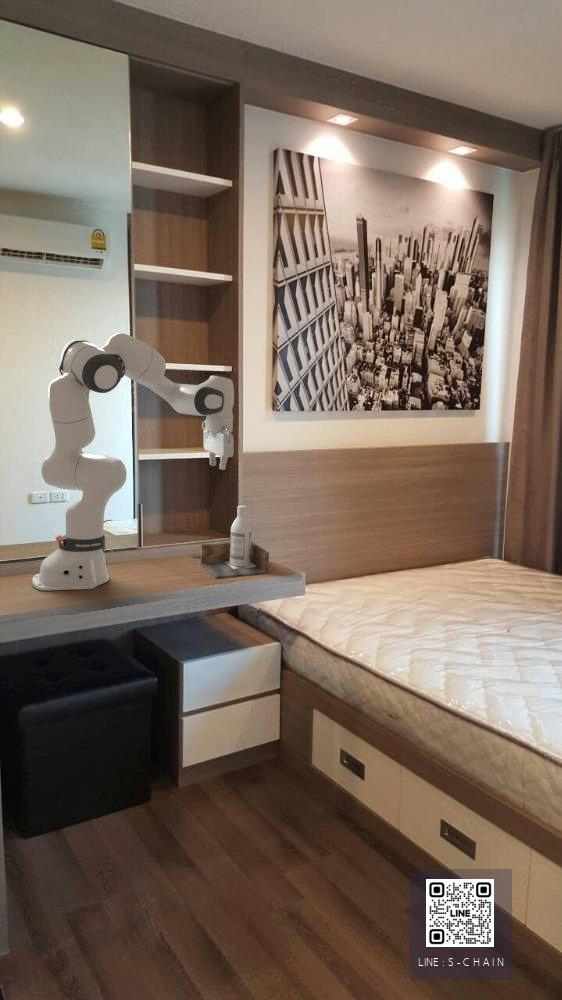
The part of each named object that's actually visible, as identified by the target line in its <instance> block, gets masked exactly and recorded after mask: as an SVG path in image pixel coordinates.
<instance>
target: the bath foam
mask: <svg viewBox="0 0 562 1000" xmlns="http://www.w3.org/2000/svg"><path fill="white" fill-rule="evenodd" d="M236 510H237V514H236V515H237V517H235V519H234V520H233V523H232V524H231V527H230V537H229V538H230V540H229V542H230V564H231V565H233V566H237V567H244V566H248V565H250V557H251V541H252V532H253V531H252V525H251V523H250V521H249V519H248V518H247V506H246V505H243V504H242V505H237V509H236Z"/></svg>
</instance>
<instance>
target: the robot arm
mask: <svg viewBox="0 0 562 1000" xmlns="http://www.w3.org/2000/svg"><path fill="white" fill-rule="evenodd" d="M166 366H167V365H166V360H165V358H164V357H163V355H162V354H161V353H160V352H159V351H157V349H154V348H153V347H152V346H150V345H149V344H147V343H145V342H144V341H142V340H140V339H139V338H136V337H134V336H131V335H129V334H126V333H123V332H118V333H115V334H113V335H112V336H110V337H109V339H108V340H107V342H106V343H105V345H103V346H102V347H99V346H98V345H95V344H93V343H92V342H90V341H88V340H85V339H73V340H71V341H69V342H68V343H66V345H65V346H64V348H63V350H62V352H61V356H60V365H59V368H58V370H59V373H60V375H61V376H59V377H56V378H55V379H53V380H52V381H51V382H50V383H49V385H48V405H49V412H50V417H51V421H52V425H53V426H52V427H53V432H54V437H55V444H54V449H53V450H52V452H51V453H50V454H48V455H47V456H46V457H45V459H44V460H43V462H42V464H41V476H42V478H43V481H44V482H45V483H46V485H48V486H50V487H55V488H57V489H61V490H72V491H82V495H81V496H82V497H81V500H79V501H77V502H75V503H73V504H70V506H69V507H68V508H67V509H66V511H65V535H61V534H57V535H56V536H55V540H56V542H58V548H57V549H56V550H55V551H54V552H52V553H50V554H49V555H48V556H46V557H45V558H44V559H42V562H41V565H40V568H39V573H37V574H35V575H34V576H33V577H32V578H31V579H32V580H31V583H32V586H33V588H35V589H37V590H39V591H69V590H70V591H71V590H93V589H95V588H97V587H98V586H100V585H102V584H105V583H107V582H108V581H109V580H110V575H109V574H108V570H107V565H106V558H105V557H106V556H105V552H106V536H105V534H104V523H105V522H104V521H105V510H106V508H107V505H108V502H110V499H111V498H112V496H113V495H115V493H117V492H118V491H119V490H121V489H122V487H123V486H124V485H125V483H126V481H127V468H126V466H125V464H124V462H123V460H121V459H119V458H116V457H112V456H108V455H103V454H102V455H101V454H88V453H84V452H83V450H82V449H85V448H86V447H88V446H89V445H90V444H91V443H93V441H94V439H95V436H96V429H95V423H94V418H93V414H92V410H91V408H92V407H91V405H90V401H89V400H90V392H91V391H92V392H95V393H100V394H107V393H109V392H111V391H113V390H114V389H115V388H116V387H117V386H118V385H119V383H120V382H121V381H122V378H123V377H124V376H126V378H128V379H130V380H132V381H134V382H136V383H137V384H139V385H141V386H143V387H145V388H146V389H147V390H149V391H150V392H152V393H153V394H154V395H156V396H158V398H160V399H161V400H162V401H163V402H164V403H165V404H166V406H167V407H168V409H169V410H170V411H171V412H172V413H174V414H176V415H187V416H189V415H191V416H199V417H205V420H204V421H203V422H202V424H201V426H202V427H201V429H202V430H203V432H202V433H203V435H202V437H203V438H202V439H203V443H202V444H203V449H204V451H207V452H208V459H209V465H210V466H211V467H216V466H217V460H216V459H217V458H216V455H217V456H219V459H220V462H219V464H218V469H219V470H221V471H222V470H223V471H224V470H226V468H227V463H228V459H229V458H233V456H234V444H235V443H234V435H233V429H234V428H233V425H234V414H233V407H234V403H235V389H234V382H233V380H232V379H231V378H230V377H228V376H225V375H217V374H212V375H210V376H209V378H208V379H207V380H205V381H204V382H201V383H199V384H188V383H187V384H186V383H181V382H173V381H172V380H171V379H169V378H168V377H166V376H165V373H166V369H167V367H166Z"/></svg>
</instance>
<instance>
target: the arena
mask: <svg viewBox="0 0 562 1000" xmlns="http://www.w3.org/2000/svg"><path fill="white" fill-rule="evenodd" d="M269 561H270V553H269V552H268V551H266V550H265V549H263V548H262V547H260V546H259V545H258V544H256V543H255V542H253V541H252V540H251V557H250V565H248V566H244V567H237V566H233V565H231V564H230V541H227V542H213V543H201V544H200V561H199V563H200V564H199V565H200V566H202V568H204V570H206V571H207V572H208V573H210V574H211V575H212V576H213V577H214V578H215V579H225V578H235V577H237V578H238V577H246V576H247V577H248V576H255V575H256V576H257V575H266V574H267V575H268V574H269V564H270V563H269Z"/></svg>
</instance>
